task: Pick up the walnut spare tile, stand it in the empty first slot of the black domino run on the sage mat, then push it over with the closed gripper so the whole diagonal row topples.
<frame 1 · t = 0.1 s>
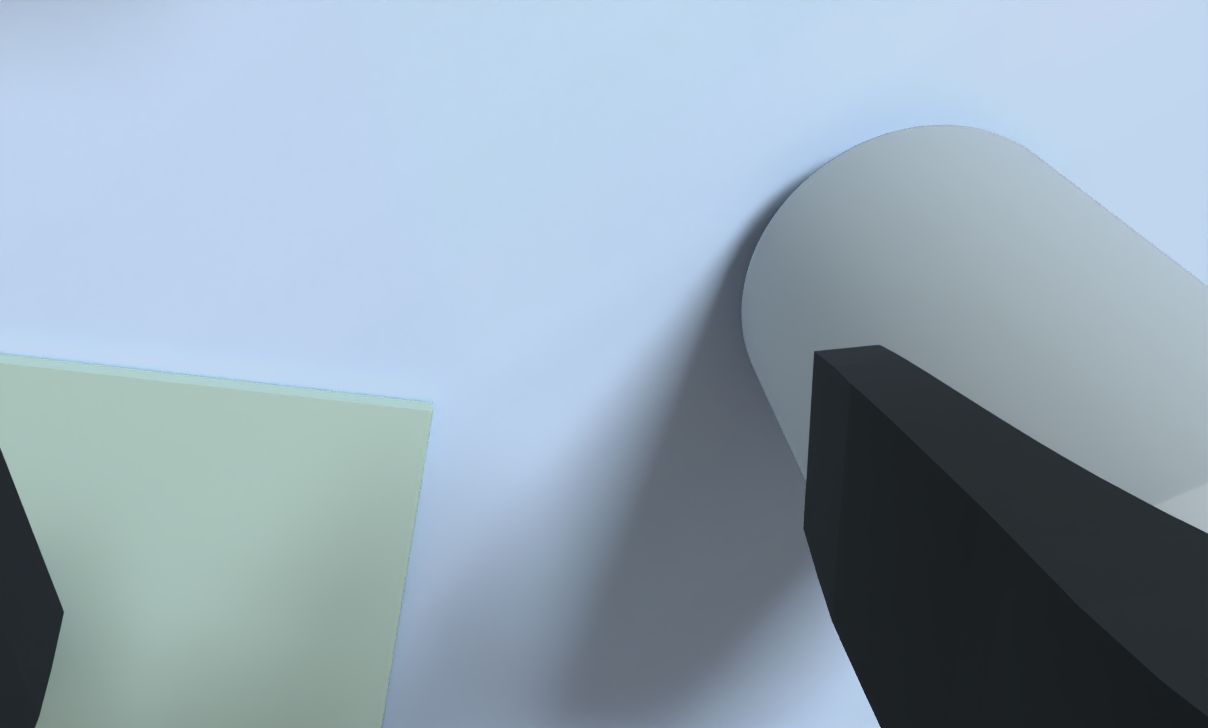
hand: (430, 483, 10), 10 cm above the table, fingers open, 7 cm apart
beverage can: (893, 268, 21), on the table
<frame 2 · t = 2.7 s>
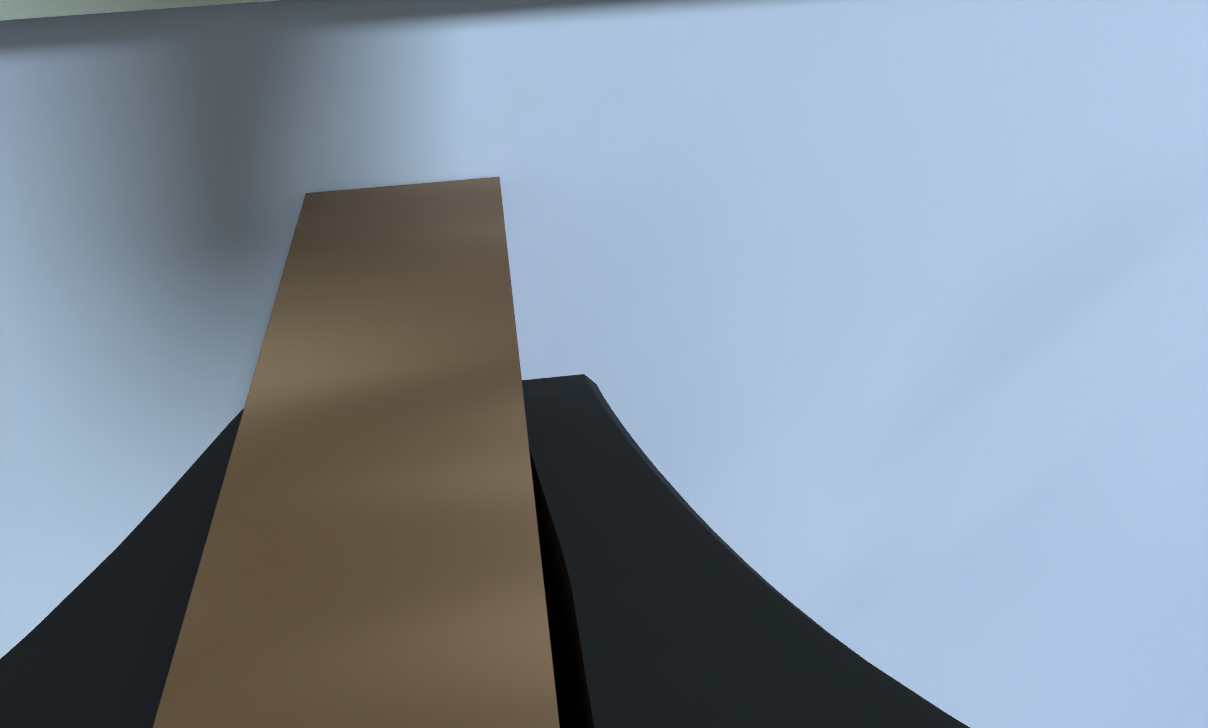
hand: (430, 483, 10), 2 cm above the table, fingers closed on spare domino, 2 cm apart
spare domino: (432, 384, 12), on the table, touching gripper
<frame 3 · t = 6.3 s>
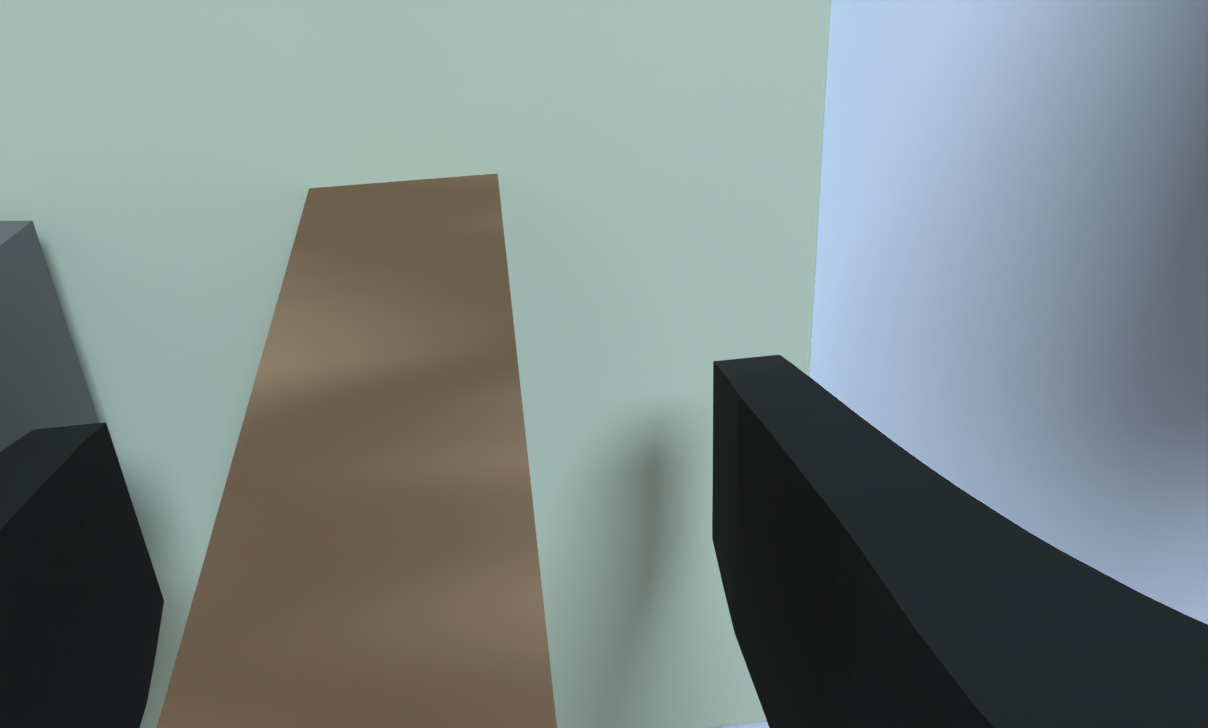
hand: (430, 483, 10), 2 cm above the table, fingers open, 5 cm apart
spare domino: (430, 376, 12), resting on mat
domino 1: (14, 421, 11), resting on mat, tilted 12°
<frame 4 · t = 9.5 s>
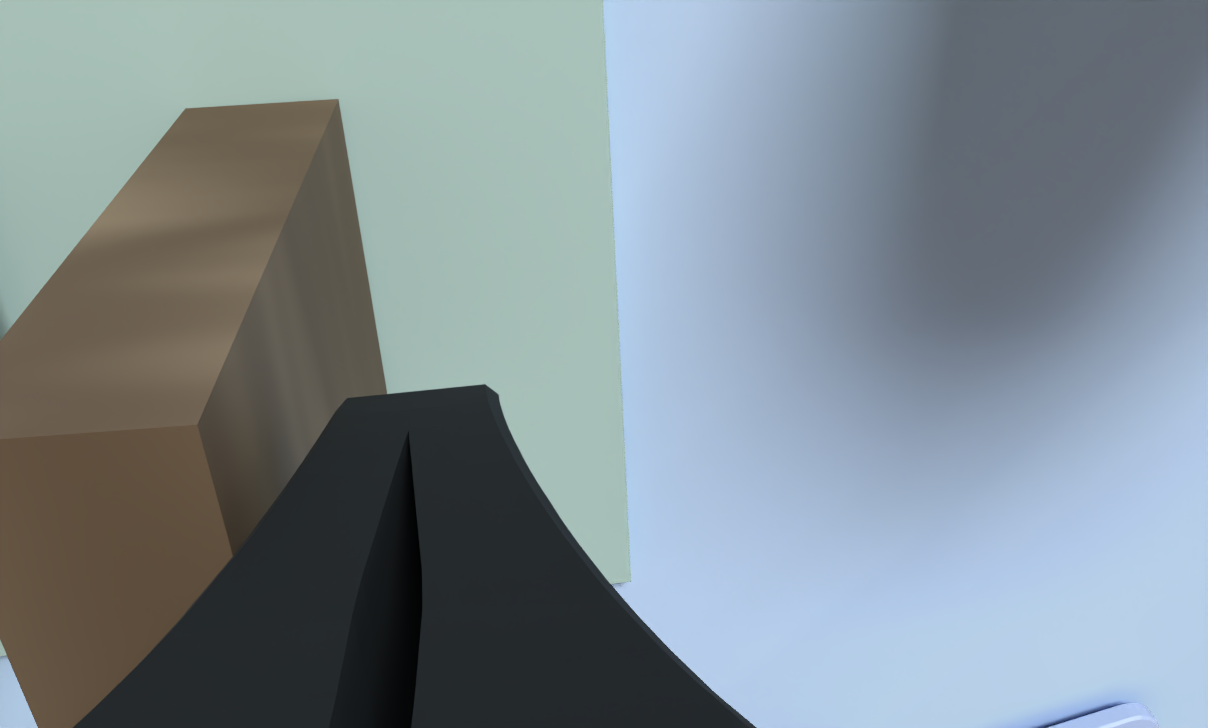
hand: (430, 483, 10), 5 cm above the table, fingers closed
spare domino: (295, 270, 14), resting on mat, touching gripper
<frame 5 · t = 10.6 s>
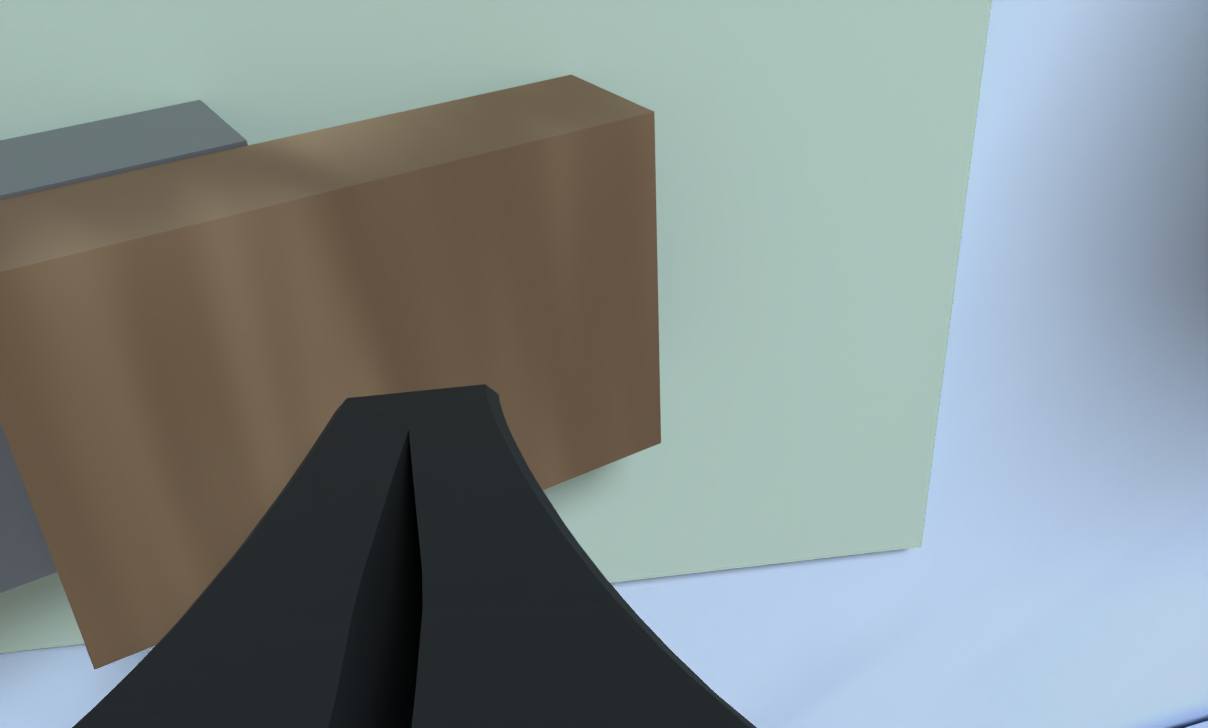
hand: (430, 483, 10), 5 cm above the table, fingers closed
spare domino: (617, 264, 14), point 1 cm above the table, tilted 65°, touching domino 1, mat
mat: (12, 277, 14), on the table
domino 1: (261, 293, 14), point 1 cm above the table, tilted 64°, touching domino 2, mat, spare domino
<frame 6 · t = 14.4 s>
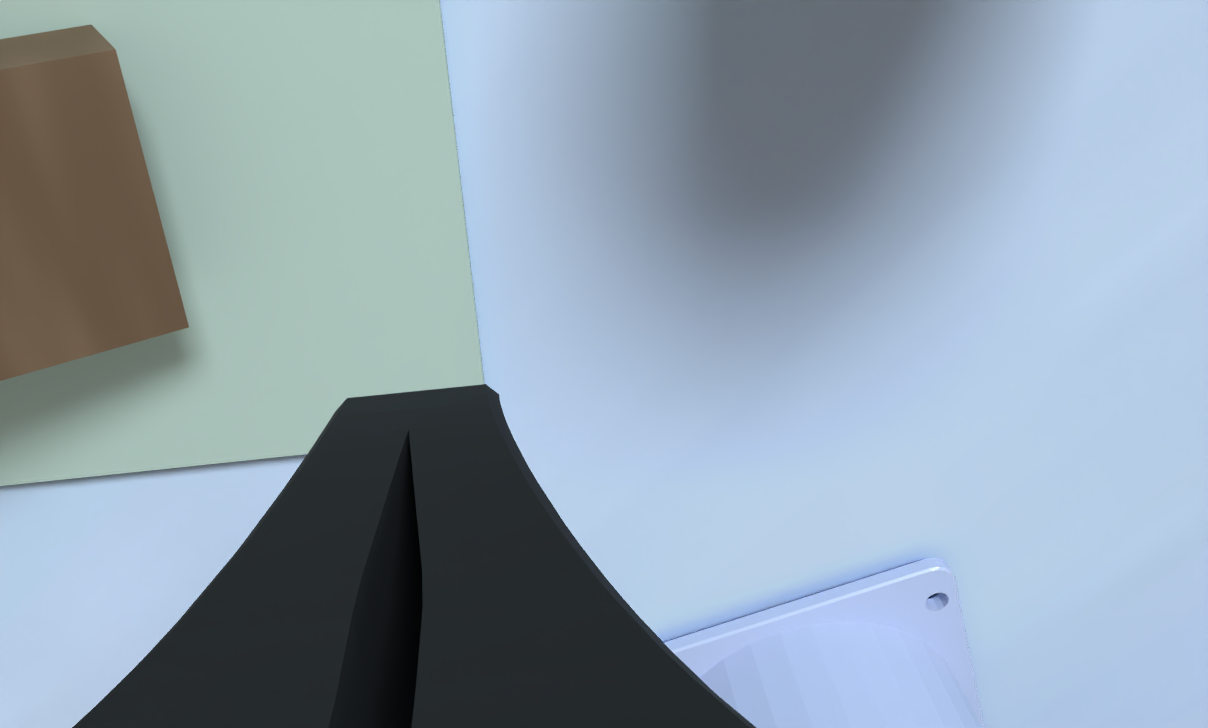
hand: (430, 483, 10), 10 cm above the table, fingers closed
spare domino: (141, 179, 17), point 1 cm above the table, tilted 65°, touching domino 1, mat
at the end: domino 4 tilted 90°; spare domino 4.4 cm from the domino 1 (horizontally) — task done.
